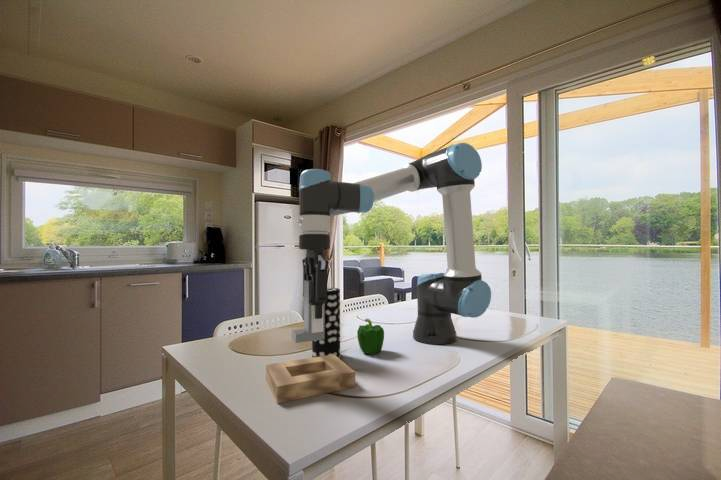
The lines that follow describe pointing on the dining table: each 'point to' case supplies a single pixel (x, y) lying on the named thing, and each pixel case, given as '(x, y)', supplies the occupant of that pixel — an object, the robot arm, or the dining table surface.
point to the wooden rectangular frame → (308, 377)
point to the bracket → (308, 319)
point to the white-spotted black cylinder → (330, 327)
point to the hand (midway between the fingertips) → (314, 329)
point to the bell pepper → (370, 338)
